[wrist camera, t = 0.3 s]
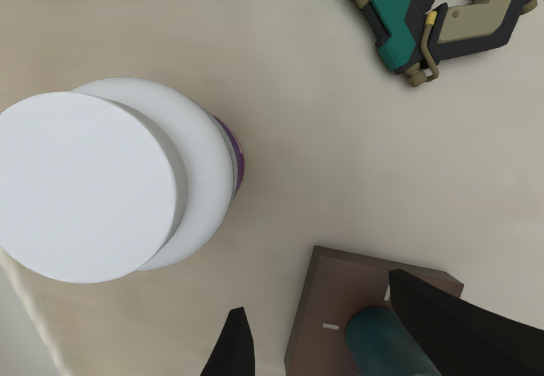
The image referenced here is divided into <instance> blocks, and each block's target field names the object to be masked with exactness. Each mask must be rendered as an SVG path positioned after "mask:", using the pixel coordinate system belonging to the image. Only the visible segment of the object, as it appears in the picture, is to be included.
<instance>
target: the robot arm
mask: <svg viewBox="0 0 544 376" xmlns="http://www.w3.org/2000/svg"><path fill="white" fill-rule="evenodd" d="M388 274H389V286H390V298H391V306H392V308H393V309H394V311H395V313H396V314H397V316H398V318H399V319H400V321H401V322H402V324H403V326H404V327H405V328H406V330H407V331H408V332H409V334H410V335H411V336H412V337H413V339H414V340H415V341H416V343H417V344H418V345H419V346H420V348H421V349H422V350H423V352H424V353H425V354H426V355H427V357H428V358H429V359H430V361H431V362H432V363H433V364H434V366H435V367H436V368H437V370H438V371H439V372H440V374H441V375H442V376H544V330H541V329H538V328H535V327H532V326H529V325H526V324H523V323H519V322H516V321H514V320H511V319H508V318H505V317H502V316H500V315H497V314H495V313H492V312H490V311H487V310H485V309H482V308H480V307H477V306H475V305H473V304H470V303H468V302H466V301H464V300H462V299H459V298H457V297H455V296H453V295H451V294H449V293H447V292H445V291H443V290H441V289H439V288H437V287H435V286H433V285H431V284H429V283H427V282H425V281H424V280H422V279H420V278H418V277H416V276H414V275H412V274H410V273H409V272H407V271H405V270H403V269H401V268H400V269H395V270H391V271H388ZM200 376H255V356H254V344H253V338H252V334H251V331H250V327H249V324H248V321H247V317H246V314H245V310H244V307H240V308H236V309H232V310H230V312H229V314H228V317H227V319H226V322H225V325H224V327H223V329H222V332H221V334H220V336H219V339H218V341H217V343H216V345H215V347H214V349H213V352H212V354H211V356H210V358H209V359H208V361H207V363H206V365H205V367H204V369H203V371H202V373H201V375H200Z"/></svg>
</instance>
